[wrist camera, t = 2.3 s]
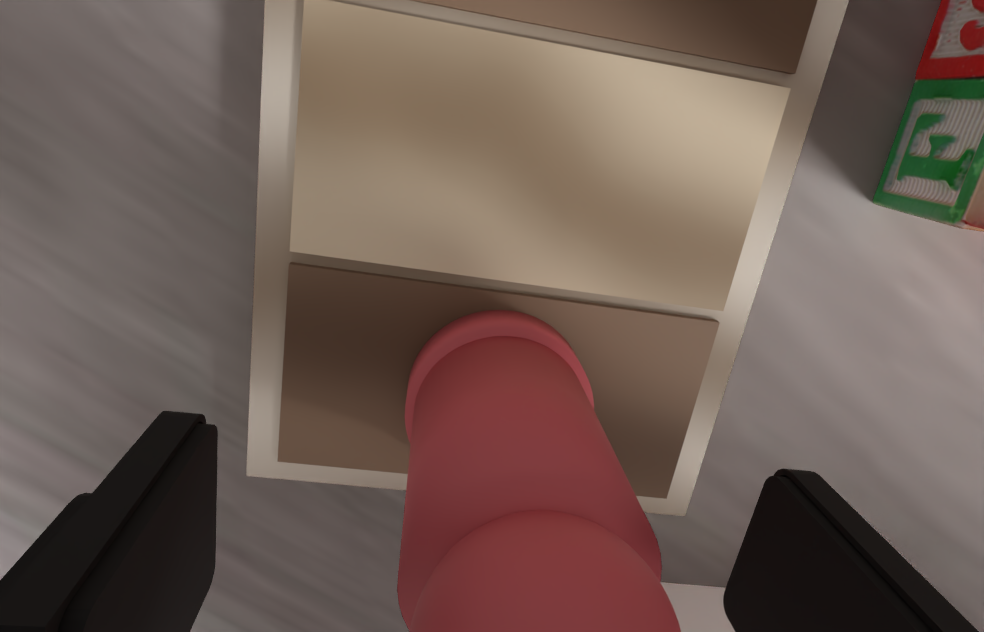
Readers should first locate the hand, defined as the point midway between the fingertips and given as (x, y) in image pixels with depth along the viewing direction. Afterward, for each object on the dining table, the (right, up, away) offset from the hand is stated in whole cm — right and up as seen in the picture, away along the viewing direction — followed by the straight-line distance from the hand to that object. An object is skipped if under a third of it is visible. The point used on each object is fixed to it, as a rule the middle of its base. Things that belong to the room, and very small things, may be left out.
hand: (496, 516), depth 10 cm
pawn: (0, +1, +5) cm, 5 cm away
